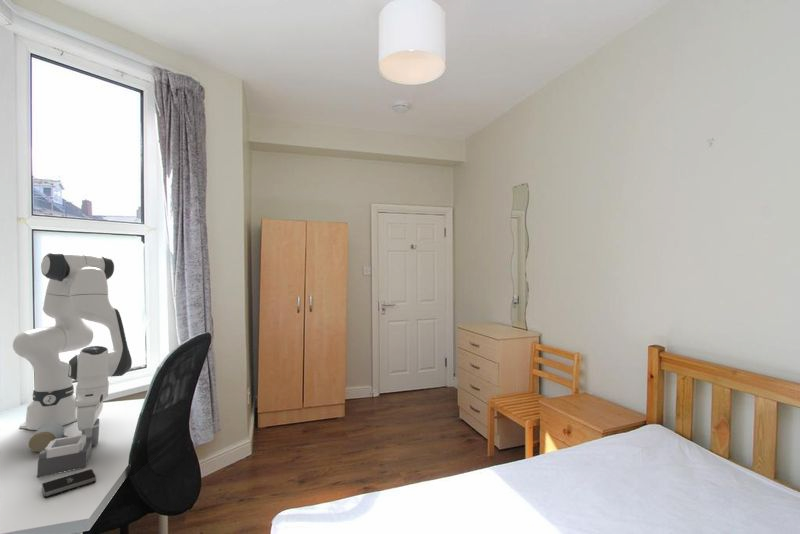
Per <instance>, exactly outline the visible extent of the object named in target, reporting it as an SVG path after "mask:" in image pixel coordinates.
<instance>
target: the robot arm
mask: <svg viewBox="0 0 800 534" xmlns="http://www.w3.org/2000/svg"><path fill="white" fill-rule="evenodd" d="M40 264H41V265H40V270H41V274H42V275H43V276H44V277H45V278H46V279H49V280H48V283H47V287H46V289H45V295H44V302H43V308H42V310H43V313H44V314H45V315H46V316H47V317H50V318H51V319H54V321H55V324H54V326H46V327H38V328H37V327H36V328H32V329H28V330H26V331H25V330H24V331H21V332H19V333H18V334H17V335H16V336H15V337H14V339H13V342H12V348H13V351H14V352H15V354H17V355H18V356H19V357H20V358H22V359H25V360H26V361H28V362H29V363H30V365H31V366H32V369H33V372H34V390H32V402H31V403H29V404H28V405H27V407H26V414H25V422H23V423H21V424H19V429H27V430H31V431H37V429H38V428H39V427H40V426H42V425H44V424H46V423H51V422H54V423H58V424H60V425H62V427H63V426H65V425H69V424H71V423H74V422H77V423H76V424H77V429H78V431H82V430H84V431H85V435H86V438H88V437H91V436H92V432H93V430H92V428H93V426H94V424H95V422H96V420H97V418H98V419H99V416H100V415H101V413H102V411H103V406H104V405H103V404H104V403H103V402H104V400H105V399H107V398H108V397H109V387H110V383H109V382H110V381H109V377H111V378H112V377H113V378H114V377H122V376H124V375H125V374H126V373H128V371H129V370H131V369H132V365H133V358H132V356H131V353H130V349H129V346H128V341H127V338H126V332H125V328H124V324H123V320H122V317H121V314H120V312H119V310H118V309H117V308H115V307H113V306H112V304H111V303H110V300H109V286H108V280H109V279H110V278H111V277H112V276H113V274H114V271H115V263H114V262H113V259H112V258H110V257H109V256H105V255H97V254H92V253H91V254H90V253H84V252H80V253H77V252H76V253H75V252H60V251H54V252H49V253H47V254H45V256H43V258H42V260H41V263H40ZM83 320H86V321H90V322H94V323H97V324H101V325H103V326H105V327H107V328H108V330H109V333H110V339H111V342H112V348H113V349H112V350H109V349H108V348H107V347H105V346H99V345H91V343H92V342H93V339H94V332H93V330H92V328H91V327H90V326H89V325H87V324H86V323H85V322H84V321H83ZM90 345H91V346H90ZM80 349H81V350H80ZM76 350H80V351H79V354H76V355H74V356H73V357H72V358H71V359H70V360H69V361H68V362H64V361H61V359H60V357H59V356H60V354H61V353H67V352H72V351H76ZM73 381H77V384H76V386H75V387H76V388H74V384H73ZM74 392H75V395H74Z"/></svg>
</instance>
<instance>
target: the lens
mask: <svg viewBox="0 0 800 534" xmlns="http://www.w3.org/2000/svg"><path fill="white" fill-rule="evenodd" d="M92 430H93V432H92V436H91V437H88V438H86V441H91V440H92V443H91V447H92V446H93V447H94V446H95V445H97V444H99V435H100V433H99V432H100V418H99V417H98V418H97V420H96V422H95V424H94V426H93V428H92ZM83 434H85V431H84V430H81V435H83Z"/></svg>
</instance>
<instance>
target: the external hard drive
mask: <svg viewBox="0 0 800 534" xmlns="http://www.w3.org/2000/svg"><path fill="white" fill-rule="evenodd" d="M96 482H97V475H96V474H95V471H94V470H93V468H90V469H86V470H84V471H79V472H77V473H73V474H69V475H65V476H63V477H58V478H55V479H52V480H49V481H45V482H42V483H41V492H42V496H43V498H44V499H50V498H52V497H55V496H58V495H62V494H65V493H68V492H72V491H74V490H77V489H80V488H84V487H86V486H90V485H94V484H95V483H96Z"/></svg>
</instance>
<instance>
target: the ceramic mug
mask: <svg viewBox="0 0 800 534" xmlns="http://www.w3.org/2000/svg"><path fill="white" fill-rule="evenodd" d="M64 437H70V436H68V435H67V434H65V428H64V427H63V426H62V425H60V424H58V423H54V422H51V423H46V424H44V425H42V426H40V427H39V428H38V429H37V430H35V432H34V433H33V434H32V436H31V437H30V438H29V441H28V448H29V450H30V451H32V452H33V453H40V452H41V451H43V450H45V448H46V447H47V446H48V444H49V443H50V442H51V441H54V439H58V438H64Z"/></svg>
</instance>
